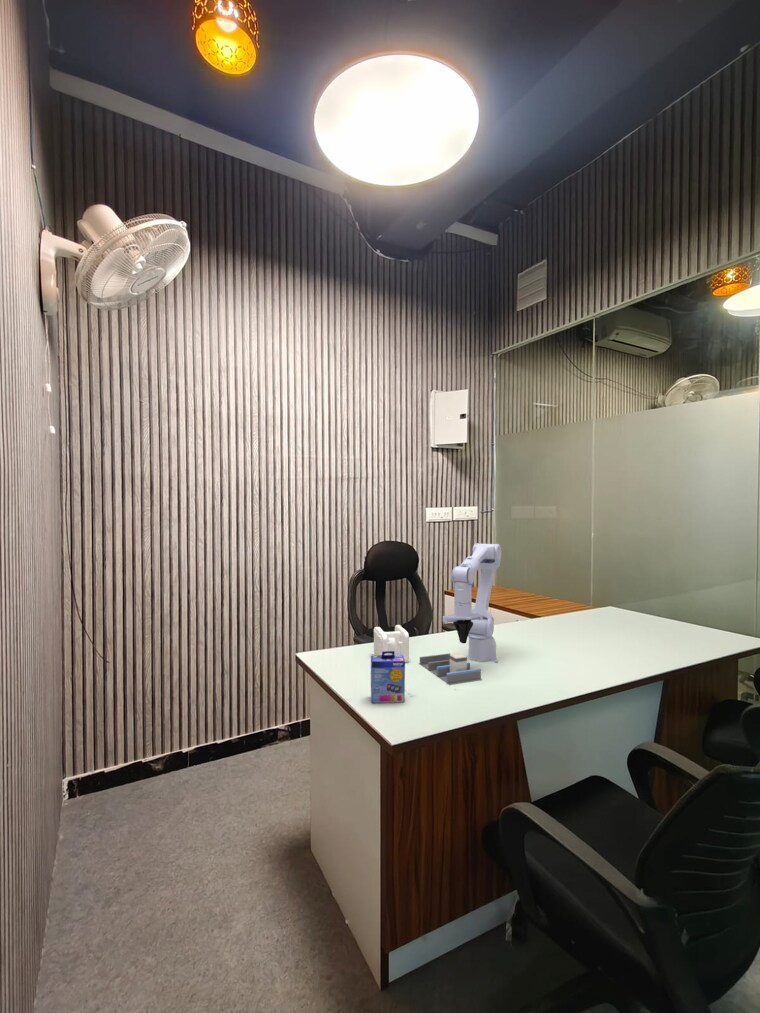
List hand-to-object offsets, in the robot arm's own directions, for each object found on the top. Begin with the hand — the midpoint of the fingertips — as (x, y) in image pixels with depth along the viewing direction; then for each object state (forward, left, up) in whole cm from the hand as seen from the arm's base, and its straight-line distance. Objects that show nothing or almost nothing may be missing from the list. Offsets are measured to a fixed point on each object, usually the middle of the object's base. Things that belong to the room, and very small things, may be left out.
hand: (462, 642), depth 154 cm
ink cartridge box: (+32, +11, -11) cm, 35 cm away
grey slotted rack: (+5, -1, -10) cm, 11 cm away
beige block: (+5, +5, -9) cm, 12 cm away
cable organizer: (+18, -21, -11) cm, 30 cm away
